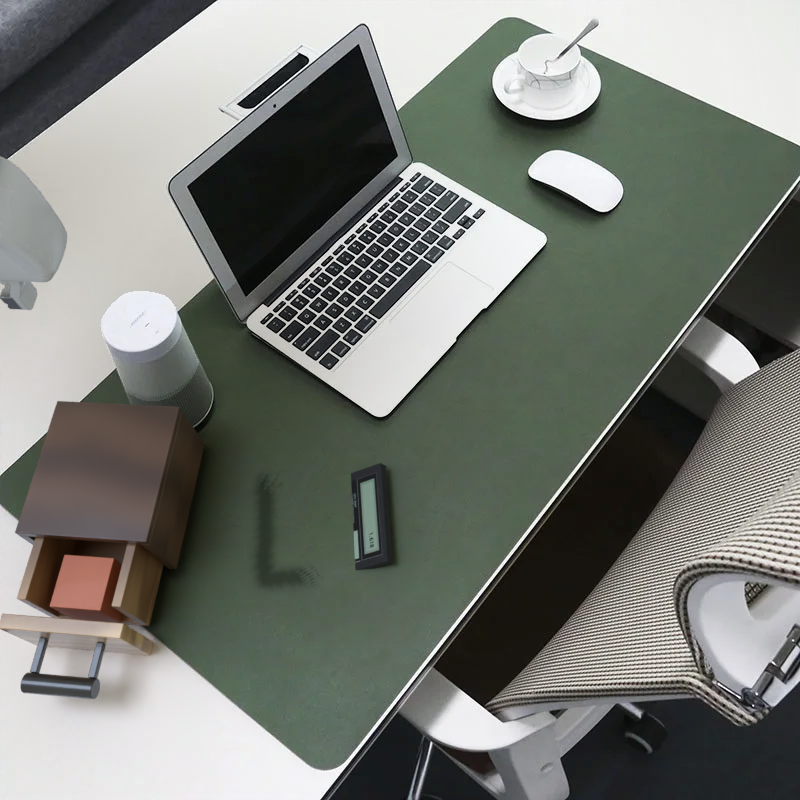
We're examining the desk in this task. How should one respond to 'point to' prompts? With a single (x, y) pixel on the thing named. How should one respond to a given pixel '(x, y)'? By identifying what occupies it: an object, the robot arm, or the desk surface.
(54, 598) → the block
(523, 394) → the desk surface
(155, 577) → the drawer
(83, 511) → the cabinet
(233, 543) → the desk surface
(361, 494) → the calculator
